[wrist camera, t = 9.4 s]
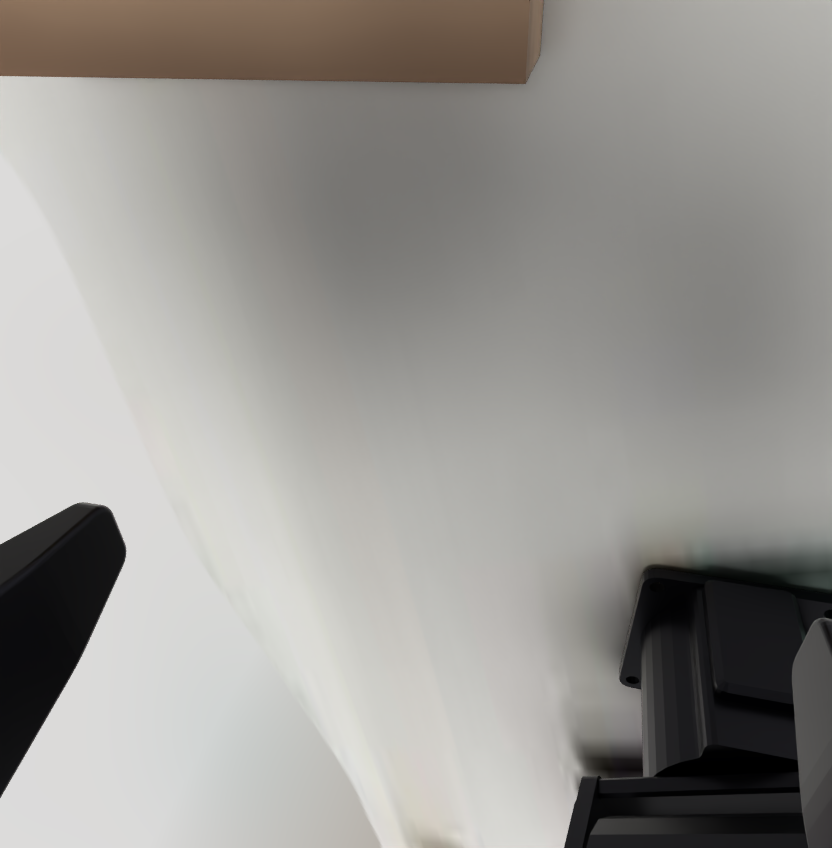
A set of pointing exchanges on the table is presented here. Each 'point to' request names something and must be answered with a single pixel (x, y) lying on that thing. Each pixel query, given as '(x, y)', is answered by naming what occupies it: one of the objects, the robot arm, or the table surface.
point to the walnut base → (273, 39)
